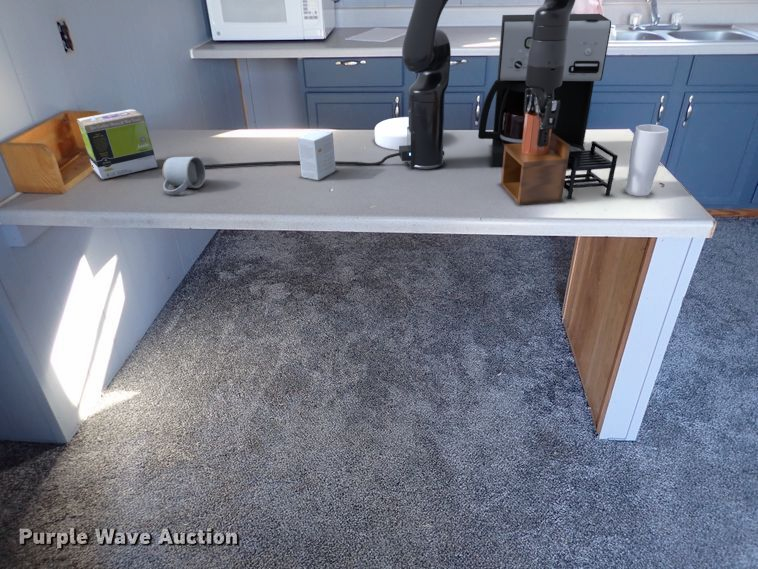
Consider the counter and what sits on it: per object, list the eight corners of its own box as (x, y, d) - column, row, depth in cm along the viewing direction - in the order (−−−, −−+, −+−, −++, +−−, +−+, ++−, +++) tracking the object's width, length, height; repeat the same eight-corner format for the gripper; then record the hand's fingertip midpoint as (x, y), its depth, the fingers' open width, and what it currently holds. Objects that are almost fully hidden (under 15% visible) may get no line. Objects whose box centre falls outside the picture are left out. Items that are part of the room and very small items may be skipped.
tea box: (147, 159, 158) (134, 107, 151) (158, 168, 151) (144, 114, 144) (92, 171, 151) (75, 116, 143) (101, 180, 144) (83, 124, 136)
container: (443, 149, 159) (444, 133, 156) (375, 151, 159) (374, 135, 156) (436, 129, 176) (437, 115, 173) (374, 131, 176) (374, 117, 173)
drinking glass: (634, 200, 123) (649, 134, 116) (615, 189, 129) (628, 125, 121) (659, 196, 125) (676, 130, 117) (640, 186, 130) (654, 122, 123)
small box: (319, 168, 148) (315, 129, 142) (336, 171, 145) (333, 131, 140) (301, 177, 142) (296, 137, 136) (318, 180, 139) (314, 140, 134)
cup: (527, 156, 121) (531, 117, 116) (517, 148, 126) (521, 110, 121) (553, 154, 121) (558, 115, 117) (542, 146, 126) (547, 109, 122)
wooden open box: (519, 205, 123) (525, 148, 116) (500, 184, 134) (505, 131, 127) (561, 201, 124) (570, 145, 117) (539, 181, 135) (546, 128, 128)
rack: (568, 199, 125) (574, 158, 120) (549, 182, 134) (554, 143, 129) (609, 196, 126) (618, 155, 121) (588, 179, 135) (594, 141, 130)
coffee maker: (476, 166, 145) (485, 21, 127) (477, 144, 161) (486, 13, 143) (586, 170, 140) (613, 20, 122) (576, 147, 157) (599, 11, 138)
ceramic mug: (180, 179, 143) (173, 150, 139) (208, 181, 141) (202, 152, 137) (156, 195, 134) (148, 165, 130) (185, 197, 132) (178, 167, 128)
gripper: (516, 57, 119) (509, 134, 128) (542, 69, 107) (532, 152, 116) (549, 55, 120) (540, 132, 129) (578, 67, 108) (565, 150, 117)
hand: (536, 141), depth 122 cm, fingers closed on cup, 6 cm apart
